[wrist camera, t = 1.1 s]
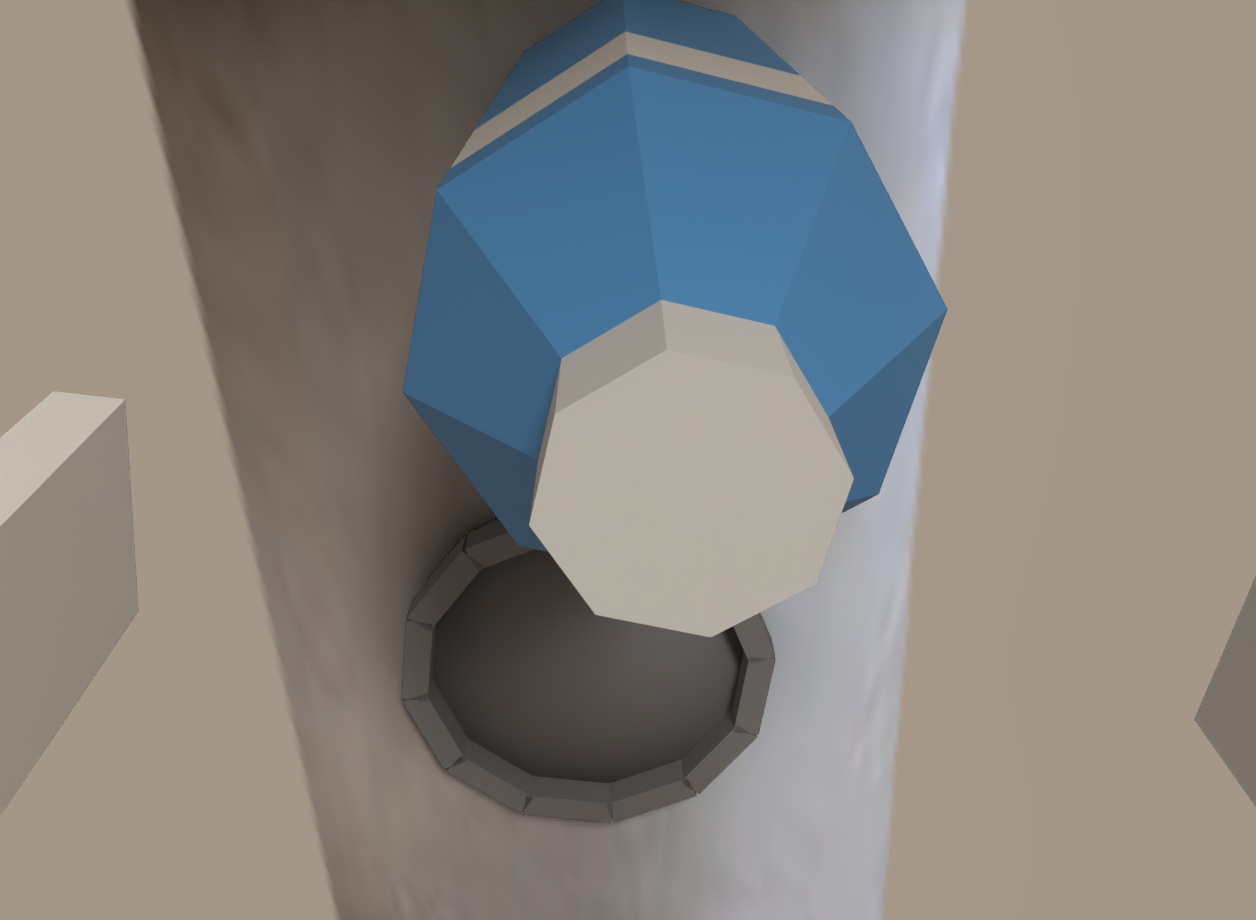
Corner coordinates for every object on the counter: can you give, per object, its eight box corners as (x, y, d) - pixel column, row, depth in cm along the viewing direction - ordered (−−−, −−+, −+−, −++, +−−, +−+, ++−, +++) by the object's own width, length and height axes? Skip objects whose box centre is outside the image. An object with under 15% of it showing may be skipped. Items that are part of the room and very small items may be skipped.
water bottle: (530, 301, 39) (416, 826, 17) (471, 12, 35) (220, 197, 13) (803, 258, 39) (1061, 743, 16) (774, -40, 35) (1064, 58, 12)
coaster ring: (420, 477, 42) (413, 497, 41) (796, 520, 43) (802, 541, 42) (401, 775, 48) (395, 802, 47) (732, 807, 49) (736, 834, 48)
